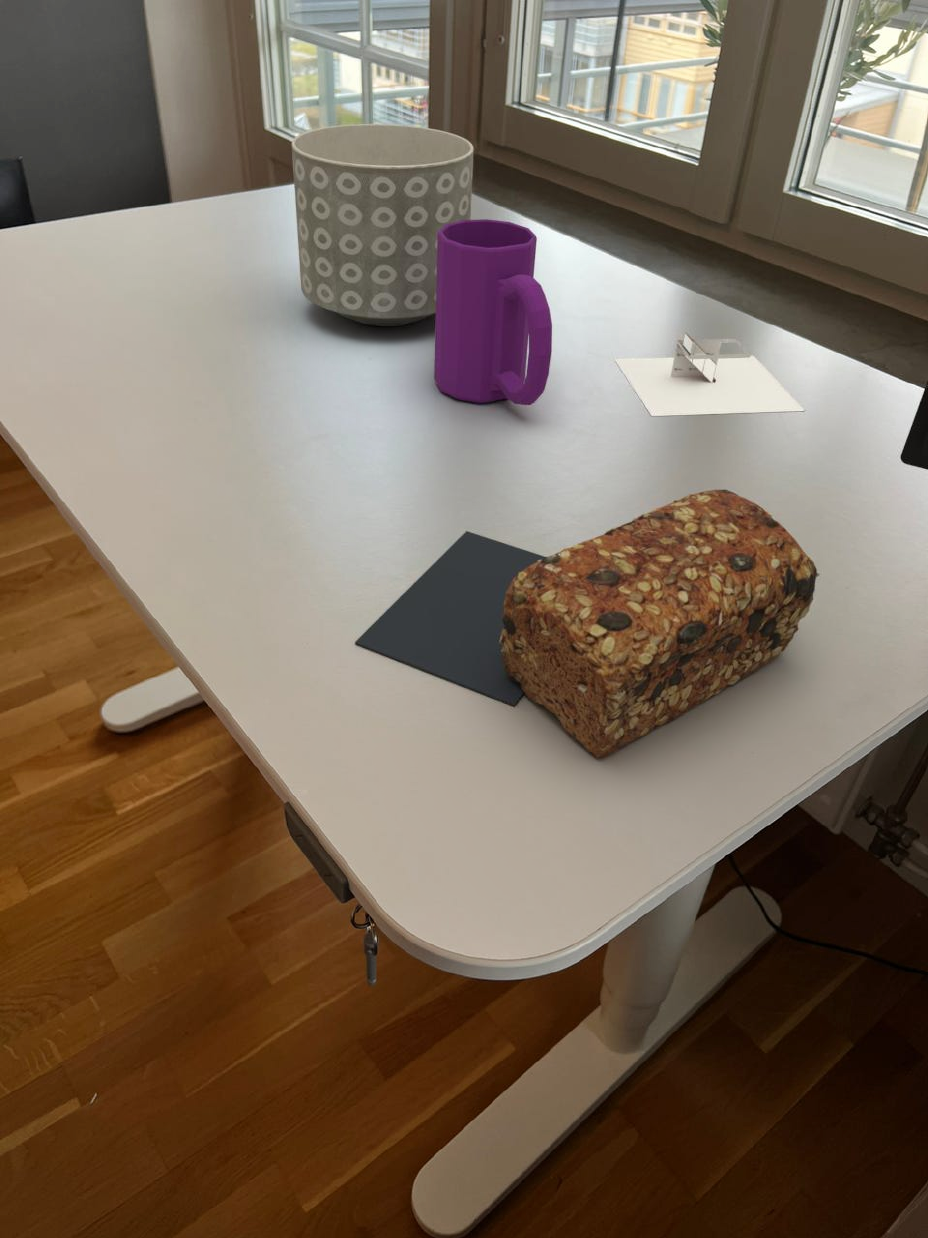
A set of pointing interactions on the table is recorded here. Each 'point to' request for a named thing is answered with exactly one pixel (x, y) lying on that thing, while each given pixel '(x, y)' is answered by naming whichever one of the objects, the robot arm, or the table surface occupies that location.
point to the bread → (654, 616)
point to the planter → (377, 216)
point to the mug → (490, 314)
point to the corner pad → (456, 617)
